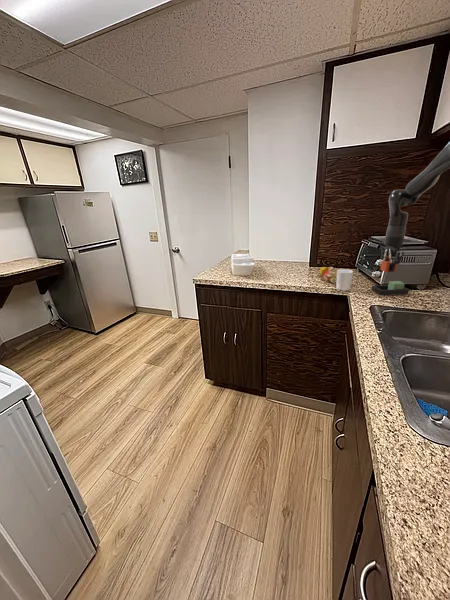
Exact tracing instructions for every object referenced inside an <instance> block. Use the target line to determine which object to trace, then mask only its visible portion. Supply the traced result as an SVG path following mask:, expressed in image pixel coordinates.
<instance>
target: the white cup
mask: <svg viewBox="0 0 450 600" xmlns="http://www.w3.org/2000/svg"><path fill="white" fill-rule="evenodd" d="M336 272H337V277H336V278H337V279H336V282H335V285H336V286H335V288H336V290H338V291H345V292H347V291H350V289H351V285H352V281H353V276H354V271H353V270H352V269H347V268H339V269H337V270H336Z"/></svg>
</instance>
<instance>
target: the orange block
mask: <svg viewBox="0 0 450 600" xmlns="http://www.w3.org/2000/svg"><path fill="white" fill-rule="evenodd" d="M389 266H390V260H389V261H383V260H381V264H380V271H382V272H384V273H390V272H389ZM397 267H398V264H396V265H395V269H394V271H393V273H395V272H396V271H397Z"/></svg>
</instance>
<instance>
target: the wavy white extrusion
mask: <svg viewBox="0 0 450 600" xmlns="http://www.w3.org/2000/svg"><path fill="white" fill-rule="evenodd" d="M254 260H255V257H254V256H252V255H251V254H250V253H231V257H230V261H231V262H230V268H231V273H232V275H233V276H251V275H252V273H253V271H254V268H255V265H256V263H255V262H254Z"/></svg>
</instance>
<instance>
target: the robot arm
mask: <svg viewBox="0 0 450 600" xmlns="http://www.w3.org/2000/svg"><path fill="white" fill-rule="evenodd" d="M449 169H450V141H448V143H447V144H446V145H445V146H444V147H443V148H442V150H441V151H439V153H438V154H437V155H436V157H434V159H432V160H431V162H430V163H429V164H428V165H427V166H426V167H425V169H423V170H422V171H421V172H420V173H419V174H418V175H416V176H415V177H414V178H413V179H412V180H410V181H409V182H408V183H407V184H406V185H405V189H403V188H402V189H394V190H393V191H391V193H390V195H389V197H388V208H389V221H388V224H387V228H386V232H385V237H384V243H383V245H384V246H385V247H381V248H380V260H381V261H390V266H389V272H388V273H392V272H393V271H394V269H395V265H396V264H397V265H398V264H400V263H401V260H402V259H403V257H404V254H405V252H404V251H401V247H402V246H403V245H404V241H405V237H406V231H407V224H408V219H409V213H408V212H407V211H402V210H401V207H408V206H409V207H410V206H411V205H414V204H415V203H416V202H417V201H418V200H419V199H420V197H421V196H422V194H424V193H426V192H427V191H428V190H431V188H432V187H434V186H435V185H436V183H437V182H438V180H439V179H440V176H441V175H442V174H443V173H444V172H446V171H448V170H449ZM393 273H394V272H393Z"/></svg>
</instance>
